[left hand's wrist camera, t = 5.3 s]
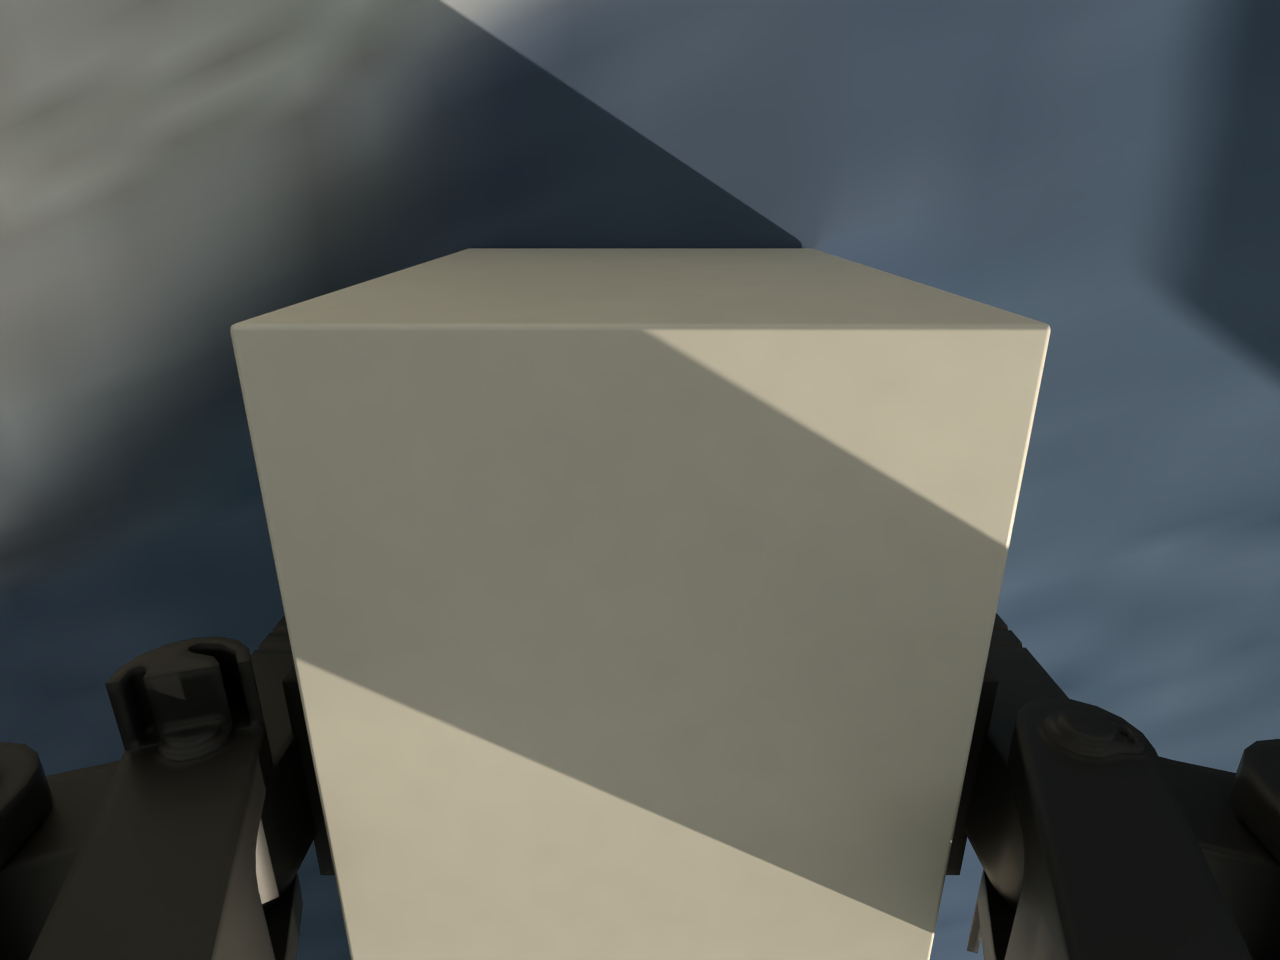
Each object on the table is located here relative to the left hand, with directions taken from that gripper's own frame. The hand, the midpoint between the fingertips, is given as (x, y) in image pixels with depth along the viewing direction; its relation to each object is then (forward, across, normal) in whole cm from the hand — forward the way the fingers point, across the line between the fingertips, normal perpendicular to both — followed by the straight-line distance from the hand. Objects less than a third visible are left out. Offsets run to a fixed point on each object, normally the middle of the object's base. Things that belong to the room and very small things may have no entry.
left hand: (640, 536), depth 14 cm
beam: (0, 0, -27) cm, 27 cm away
